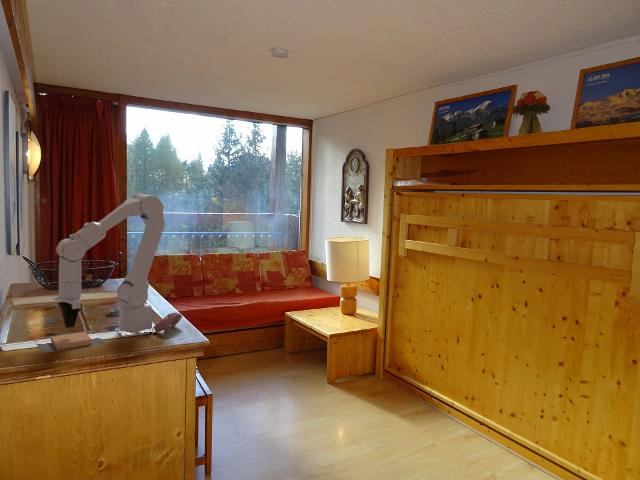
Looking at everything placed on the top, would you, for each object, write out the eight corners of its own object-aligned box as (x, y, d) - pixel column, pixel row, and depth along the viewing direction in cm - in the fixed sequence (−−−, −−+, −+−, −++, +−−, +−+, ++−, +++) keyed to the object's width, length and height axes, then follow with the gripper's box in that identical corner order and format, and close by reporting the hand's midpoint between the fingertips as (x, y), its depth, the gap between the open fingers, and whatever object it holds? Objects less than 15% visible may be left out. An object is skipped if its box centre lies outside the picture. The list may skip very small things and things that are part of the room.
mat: (92, 331, 146) (92, 330, 146) (105, 344, 136) (105, 343, 136) (33, 340, 135) (33, 338, 135) (42, 355, 125) (42, 353, 125)
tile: (84, 332, 139) (91, 339, 134) (84, 337, 139) (91, 344, 134) (50, 336, 133) (56, 344, 128) (50, 342, 133) (56, 350, 128)
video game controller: (161, 339, 148) (170, 321, 147) (150, 331, 149) (159, 313, 147) (177, 330, 158) (186, 313, 156) (167, 322, 158) (176, 306, 157)
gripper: (48, 276, 136) (48, 321, 137) (60, 287, 125) (60, 336, 126) (75, 274, 140) (74, 318, 142) (89, 285, 129) (88, 332, 131)
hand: (69, 326), depth 134 cm, fingers closed
